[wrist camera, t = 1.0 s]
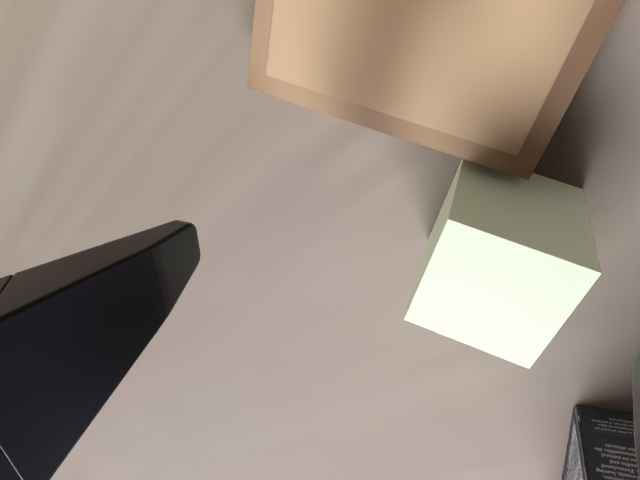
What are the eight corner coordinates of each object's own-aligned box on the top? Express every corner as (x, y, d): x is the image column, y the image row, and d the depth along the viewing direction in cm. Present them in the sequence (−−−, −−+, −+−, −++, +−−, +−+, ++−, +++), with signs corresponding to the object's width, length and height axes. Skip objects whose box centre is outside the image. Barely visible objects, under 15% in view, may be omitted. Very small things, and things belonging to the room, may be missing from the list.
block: (582, 188, 19) (601, 273, 15) (527, 276, 22) (529, 369, 18) (465, 150, 20) (447, 219, 16) (427, 239, 23) (403, 319, 19)
